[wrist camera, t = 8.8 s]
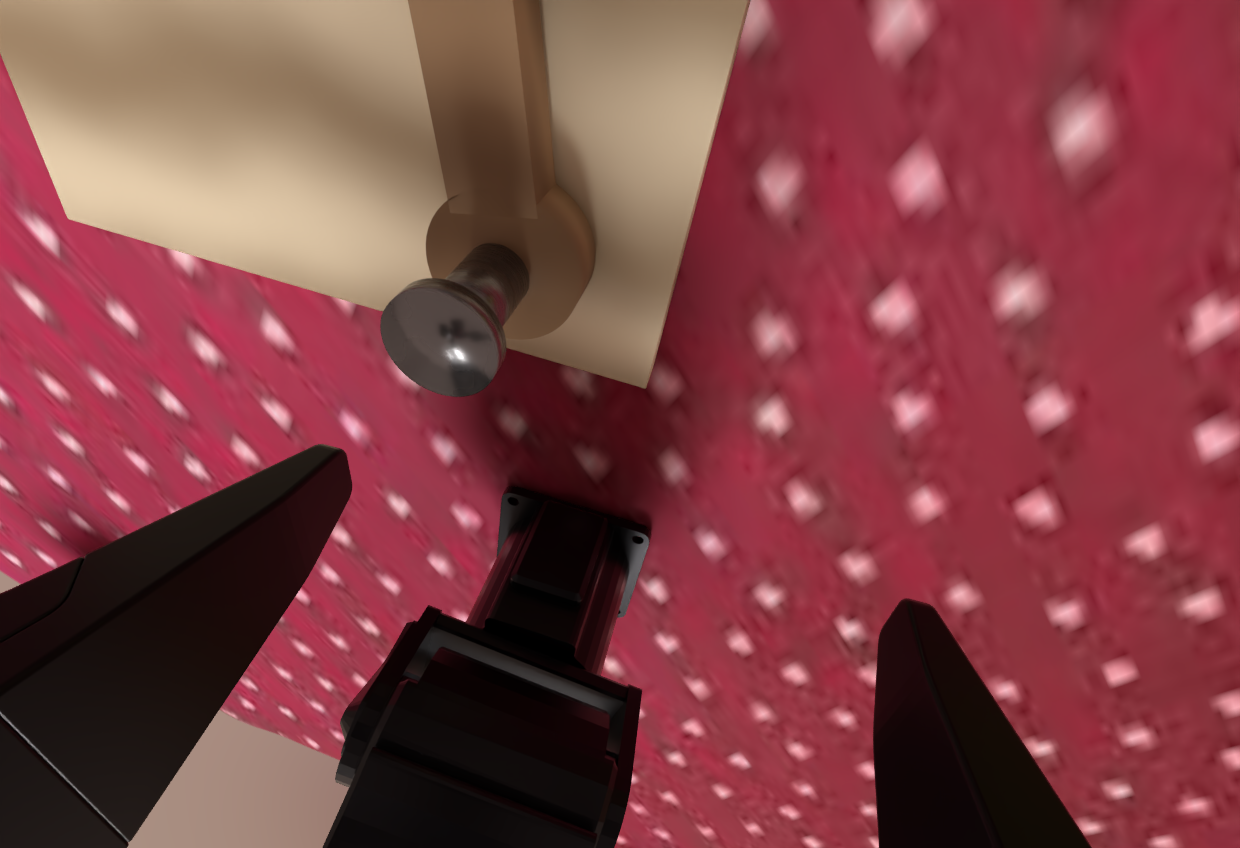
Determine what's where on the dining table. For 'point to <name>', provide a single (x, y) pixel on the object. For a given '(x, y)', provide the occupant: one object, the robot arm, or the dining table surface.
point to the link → (500, 154)
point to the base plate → (370, 141)
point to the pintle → (456, 322)
